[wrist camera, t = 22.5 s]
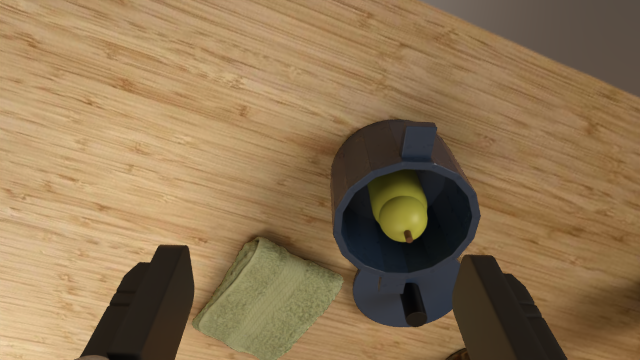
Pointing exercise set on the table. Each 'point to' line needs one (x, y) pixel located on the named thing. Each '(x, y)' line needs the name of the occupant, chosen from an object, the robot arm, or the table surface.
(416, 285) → the lid
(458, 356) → the jar
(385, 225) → the pear
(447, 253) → the pot
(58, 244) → the table surface
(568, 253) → the table surface
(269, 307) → the washcloth
